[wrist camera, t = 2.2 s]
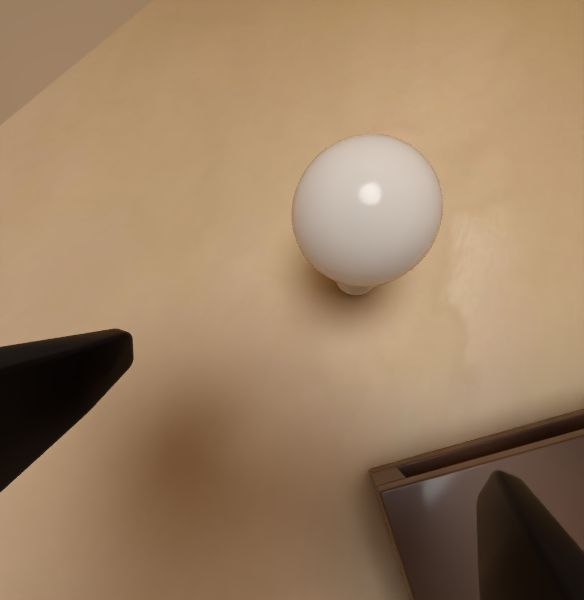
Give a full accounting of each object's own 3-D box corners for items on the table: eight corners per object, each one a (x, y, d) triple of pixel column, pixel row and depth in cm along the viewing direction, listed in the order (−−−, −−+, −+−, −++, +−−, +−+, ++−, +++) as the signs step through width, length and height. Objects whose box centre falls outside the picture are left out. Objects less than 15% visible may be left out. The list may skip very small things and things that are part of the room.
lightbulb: (338, 223, 23) (337, 75, 13) (421, 262, 21) (499, 128, 11) (290, 296, 22) (246, 197, 12) (375, 344, 20) (413, 279, 10)
